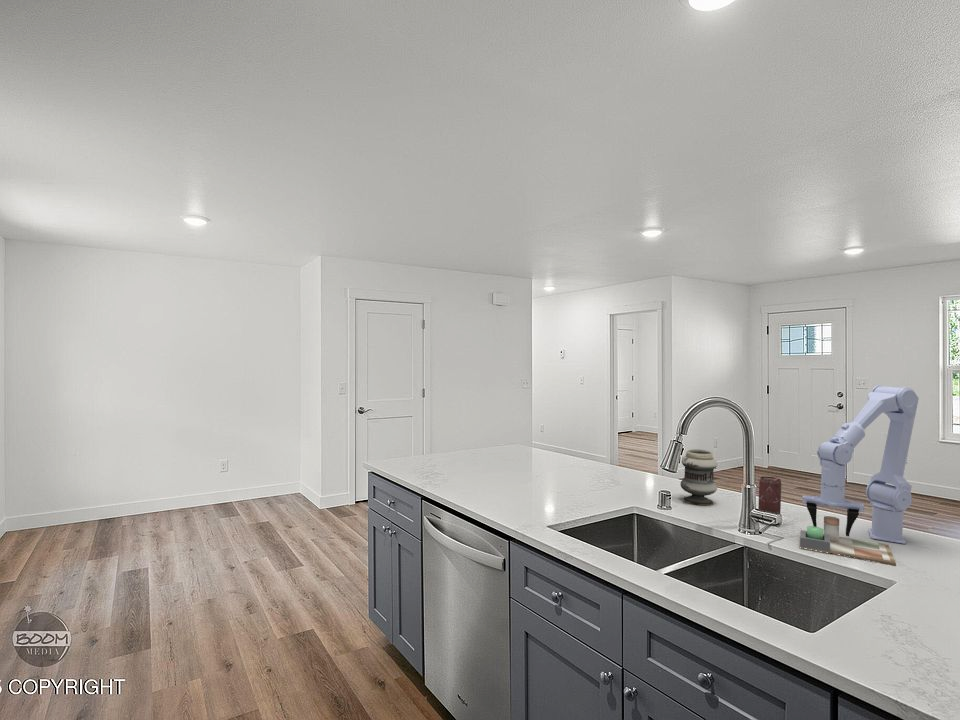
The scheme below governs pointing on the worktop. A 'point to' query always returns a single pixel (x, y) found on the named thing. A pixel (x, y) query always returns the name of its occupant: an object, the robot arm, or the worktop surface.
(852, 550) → the board
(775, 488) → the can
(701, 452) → the apothecary jar
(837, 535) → the marker
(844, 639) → the worktop surface
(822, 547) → the button housing
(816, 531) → the button
